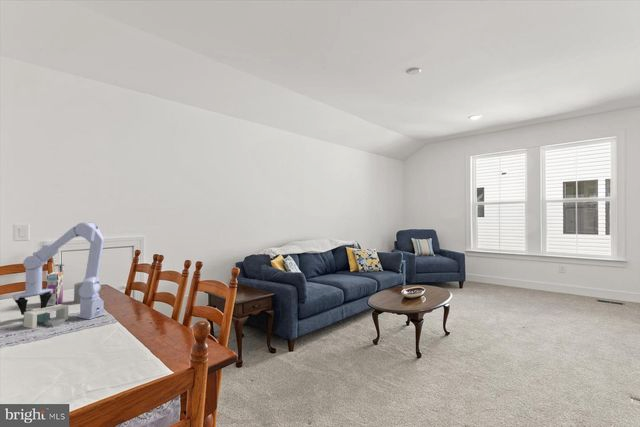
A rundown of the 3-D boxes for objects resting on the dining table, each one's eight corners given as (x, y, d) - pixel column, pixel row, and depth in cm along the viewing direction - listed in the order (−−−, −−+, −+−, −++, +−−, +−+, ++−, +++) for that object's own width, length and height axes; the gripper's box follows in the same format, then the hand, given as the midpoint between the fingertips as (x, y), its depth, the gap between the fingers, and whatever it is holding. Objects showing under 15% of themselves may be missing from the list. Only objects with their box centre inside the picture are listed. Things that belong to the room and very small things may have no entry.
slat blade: (49, 322, 149) (50, 313, 149) (44, 323, 147) (44, 314, 147) (28, 317, 154) (29, 309, 154) (23, 319, 152) (23, 310, 152)
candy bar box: (57, 305, 173) (58, 274, 173) (45, 306, 171) (46, 274, 171) (63, 300, 183) (64, 270, 184) (52, 301, 181) (52, 271, 182)
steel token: (64, 324, 147) (65, 318, 147) (52, 327, 142) (52, 321, 142) (57, 322, 148) (57, 317, 148) (44, 326, 144) (44, 320, 144)
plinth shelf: (68, 318, 153) (68, 305, 153) (32, 328, 139) (32, 313, 139) (59, 317, 155) (59, 304, 155) (23, 326, 142) (24, 312, 142)
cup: (85, 303, 178) (85, 285, 178) (70, 303, 178) (70, 284, 179) (96, 299, 187) (96, 281, 187) (81, 299, 187) (82, 281, 187)
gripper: (46, 278, 160) (45, 307, 160) (9, 284, 146) (8, 315, 146) (55, 279, 157) (55, 308, 157) (18, 285, 144) (18, 317, 143)
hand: (33, 312), depth 151 cm, fingers open, 7 cm apart
